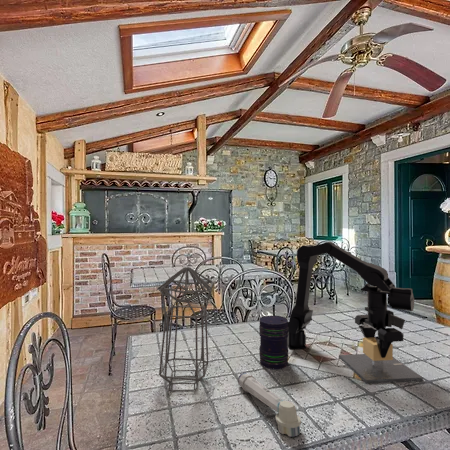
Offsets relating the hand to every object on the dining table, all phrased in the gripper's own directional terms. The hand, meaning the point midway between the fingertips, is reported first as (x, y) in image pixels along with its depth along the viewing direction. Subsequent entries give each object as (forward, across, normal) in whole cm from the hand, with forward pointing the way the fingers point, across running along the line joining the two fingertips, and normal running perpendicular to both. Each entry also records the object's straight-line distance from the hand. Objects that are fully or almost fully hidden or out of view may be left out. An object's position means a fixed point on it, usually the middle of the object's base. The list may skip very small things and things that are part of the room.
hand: (377, 353), depth 102 cm
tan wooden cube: (+1, 0, 0) cm, 1 cm away
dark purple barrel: (+5, +7, +33) cm, 34 cm away
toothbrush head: (+6, -18, +41) cm, 45 cm away
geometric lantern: (+5, -4, +62) cm, 62 cm away
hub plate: (+5, 0, 0) cm, 5 cm away
